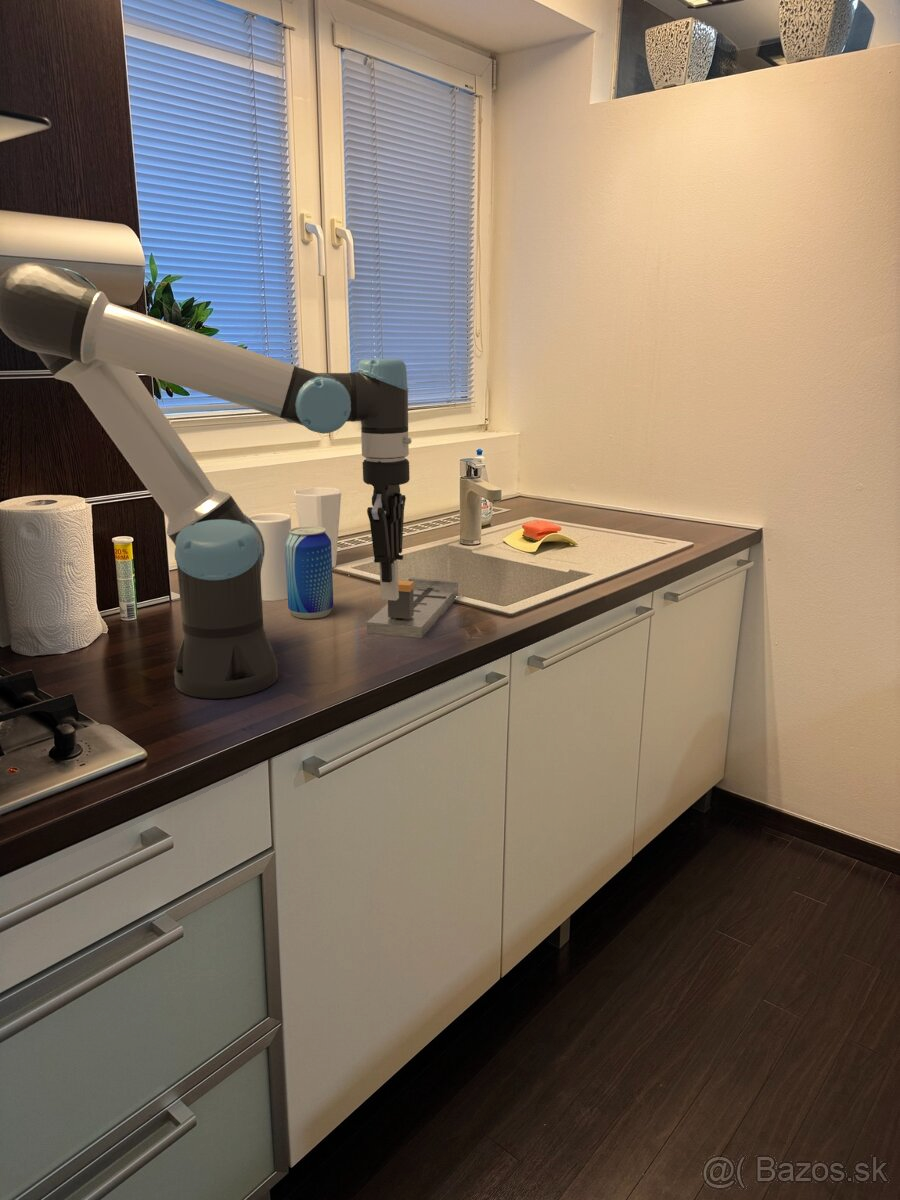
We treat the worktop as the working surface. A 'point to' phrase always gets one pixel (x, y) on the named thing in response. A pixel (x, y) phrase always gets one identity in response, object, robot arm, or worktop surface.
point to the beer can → (309, 572)
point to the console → (417, 609)
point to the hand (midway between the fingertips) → (389, 598)
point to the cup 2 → (320, 511)
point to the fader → (402, 601)
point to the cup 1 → (273, 554)
